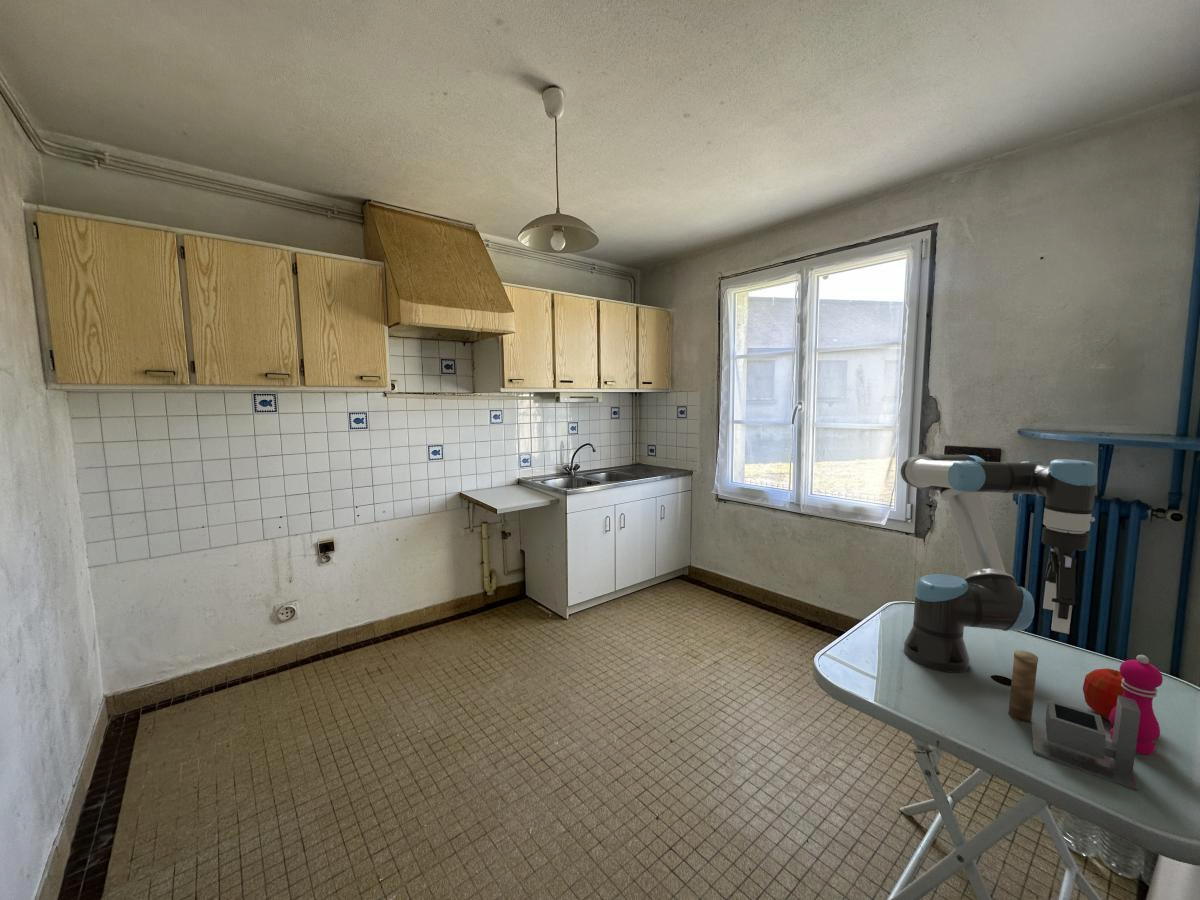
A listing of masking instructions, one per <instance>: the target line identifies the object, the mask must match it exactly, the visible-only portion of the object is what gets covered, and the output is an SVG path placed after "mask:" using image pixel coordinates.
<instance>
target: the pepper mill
mask: <svg viewBox="0 0 1200 900" xmlns="http://www.w3.org/2000/svg"><path fill="white" fill-rule="evenodd" d="M1135 658H1136V659H1127V660H1124V661H1122V663H1121V664H1120V666H1119V672H1120V674H1121V675H1122V676H1123V678H1124V679H1122V683H1121V686H1122V687H1123V688H1124V693H1123V697H1127V698H1130V699H1134V700H1136V702H1137V705H1138V707H1139V710H1140V712H1141V713H1140V721H1139V729H1138V736H1137V744H1136V751H1135V754H1136V753H1137V754H1141V755H1152V754H1154V752H1155V747H1156V745H1155V742H1154V741H1157V740H1159V738H1160V737H1161V727H1160V725H1159V721H1158V720H1157V717H1156V714H1155V712H1154V708H1153V699H1155V698H1156V697H1157V695H1158V694H1157V693H1158V689H1157V688H1158V687H1160V686H1162V685H1163V674H1162V672H1161V671H1160V670H1159V669H1158V668H1157V667H1156V666H1155V665H1153V664H1151V663H1150V659H1149V658H1148V657H1147V656H1146V655H1144V654H1138V655H1137V656H1136V657H1135ZM1116 706H1117V705H1116ZM1116 706H1115V707H1114V708H1113V709H1112V711H1111V712H1110V716H1109V720H1108V721H1109V722H1110V724H1111V725H1112V726H1113V727H1112V728H1111V729H1110V735H1109V736H1110V739H1111V740H1112V738H1113V730H1114V722H1115V714H1116Z"/></svg>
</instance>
